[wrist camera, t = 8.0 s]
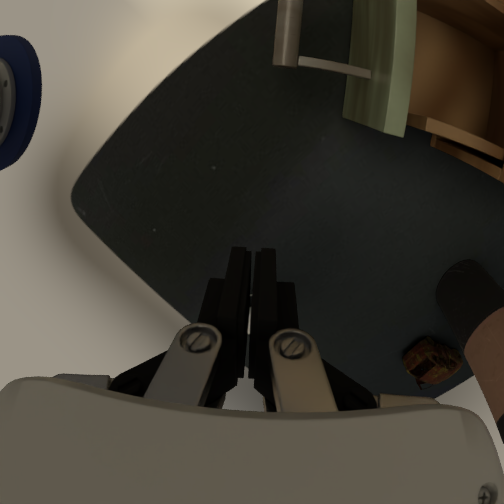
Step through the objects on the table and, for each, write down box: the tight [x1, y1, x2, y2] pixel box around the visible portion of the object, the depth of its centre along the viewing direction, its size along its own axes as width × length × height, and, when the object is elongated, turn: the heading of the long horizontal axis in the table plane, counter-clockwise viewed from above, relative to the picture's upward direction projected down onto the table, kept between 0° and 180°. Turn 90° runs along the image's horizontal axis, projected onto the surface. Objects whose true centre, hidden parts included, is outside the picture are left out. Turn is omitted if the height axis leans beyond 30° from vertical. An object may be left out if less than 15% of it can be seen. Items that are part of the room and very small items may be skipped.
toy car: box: [402, 336, 463, 390], centre depth 33 cm, size 12×7×5 cm, turn 62°
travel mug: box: [436, 260, 504, 444], centre depth 20 cm, size 8×8×20 cm
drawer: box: [272, 0, 504, 161], centre depth 13 cm, size 20×12×9 cm, turn 85°
